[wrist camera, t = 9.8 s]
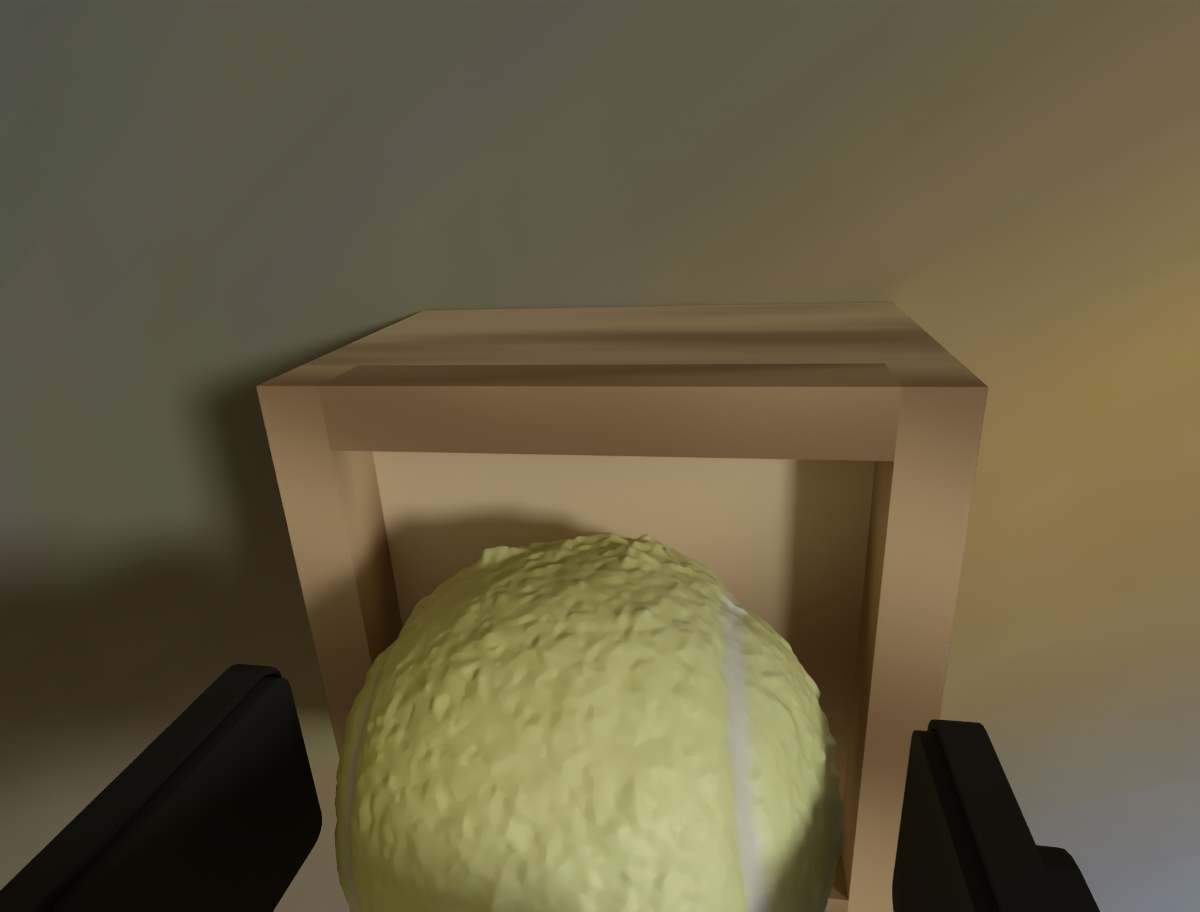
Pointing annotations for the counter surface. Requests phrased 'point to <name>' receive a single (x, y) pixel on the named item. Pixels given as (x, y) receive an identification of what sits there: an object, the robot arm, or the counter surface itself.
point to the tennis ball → (587, 746)
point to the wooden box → (657, 492)
